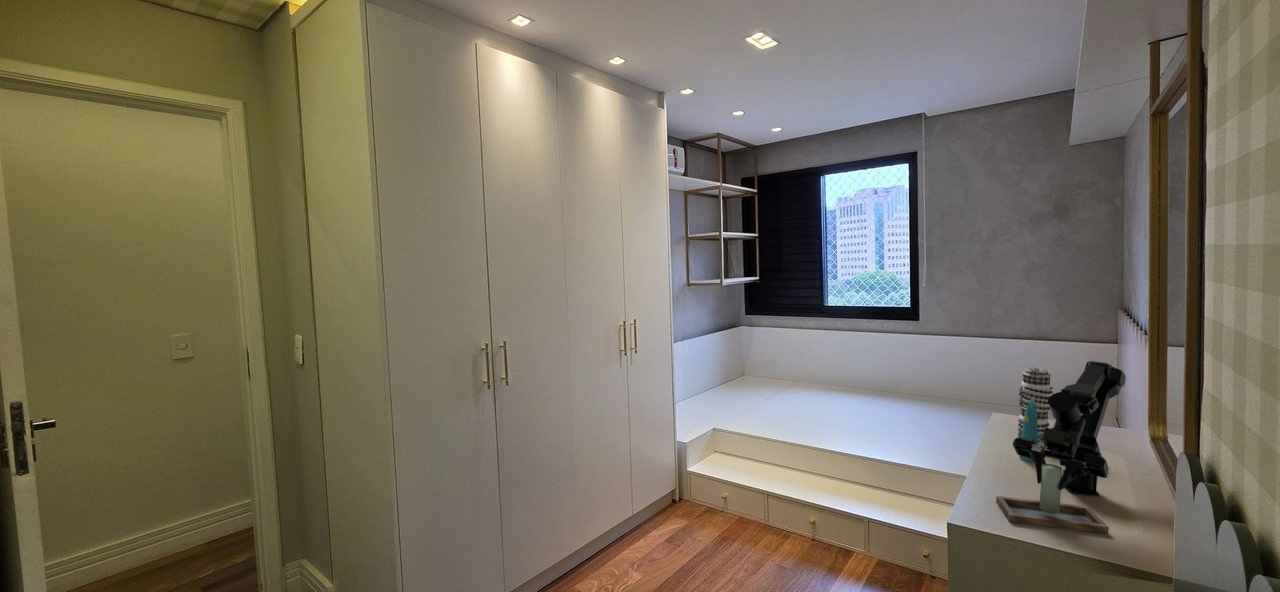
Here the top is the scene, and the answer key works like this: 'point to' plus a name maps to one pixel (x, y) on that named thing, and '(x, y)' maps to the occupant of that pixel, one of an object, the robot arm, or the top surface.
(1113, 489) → the top surface
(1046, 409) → the decorative candle
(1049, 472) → the post
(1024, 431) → the tube
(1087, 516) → the brown wooden flat tray
